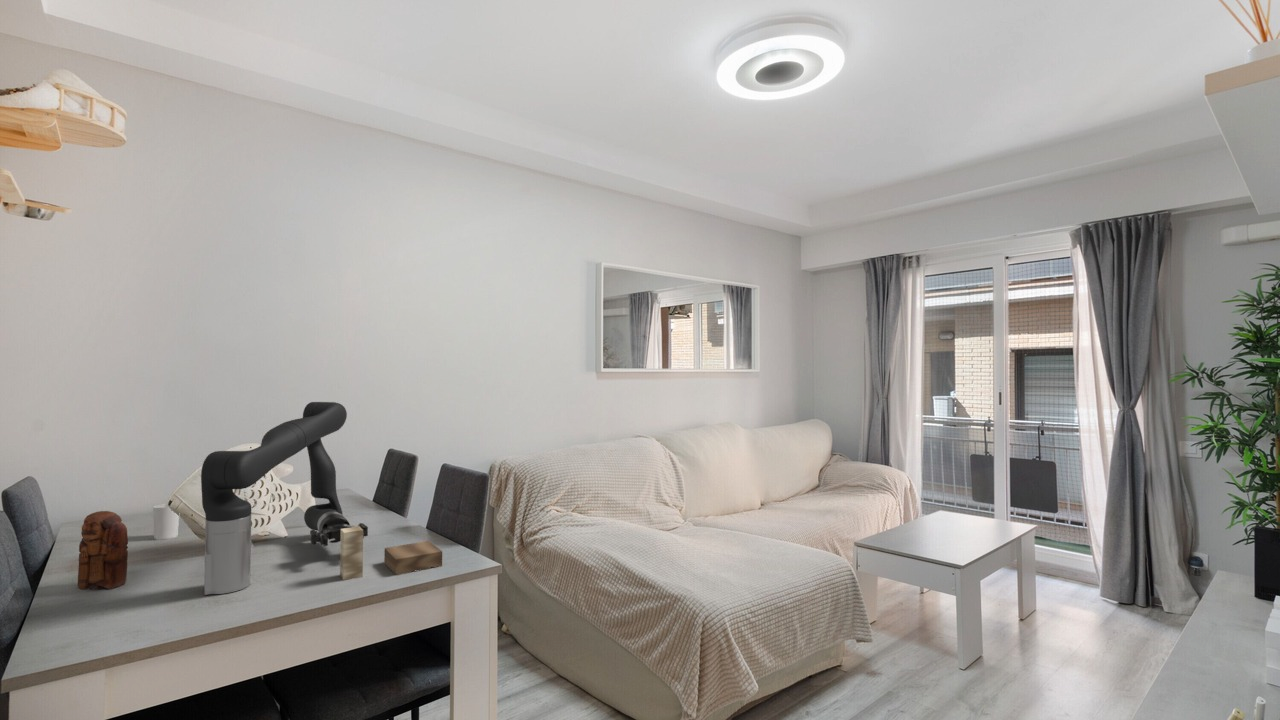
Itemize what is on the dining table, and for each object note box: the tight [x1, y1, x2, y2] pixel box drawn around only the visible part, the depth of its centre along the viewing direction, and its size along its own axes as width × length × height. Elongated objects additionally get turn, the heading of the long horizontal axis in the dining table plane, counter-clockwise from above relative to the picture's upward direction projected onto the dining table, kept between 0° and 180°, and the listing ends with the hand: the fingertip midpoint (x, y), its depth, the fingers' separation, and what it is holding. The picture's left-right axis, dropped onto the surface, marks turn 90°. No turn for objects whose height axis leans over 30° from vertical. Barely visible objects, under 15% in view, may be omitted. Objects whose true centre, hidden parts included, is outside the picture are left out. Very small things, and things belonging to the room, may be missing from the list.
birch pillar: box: [339, 525, 364, 581], centre depth 153 cm, size 4×4×12 cm
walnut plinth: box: [384, 540, 443, 576], centre depth 162 cm, size 12×12×4 cm
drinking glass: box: [152, 502, 180, 541], centre depth 187 cm, size 7×7×10 cm
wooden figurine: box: [77, 510, 129, 590], centre depth 146 cm, size 12×6×18 cm, turn 86°
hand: (343, 539), depth 161 cm, fingers open, 8 cm apart
